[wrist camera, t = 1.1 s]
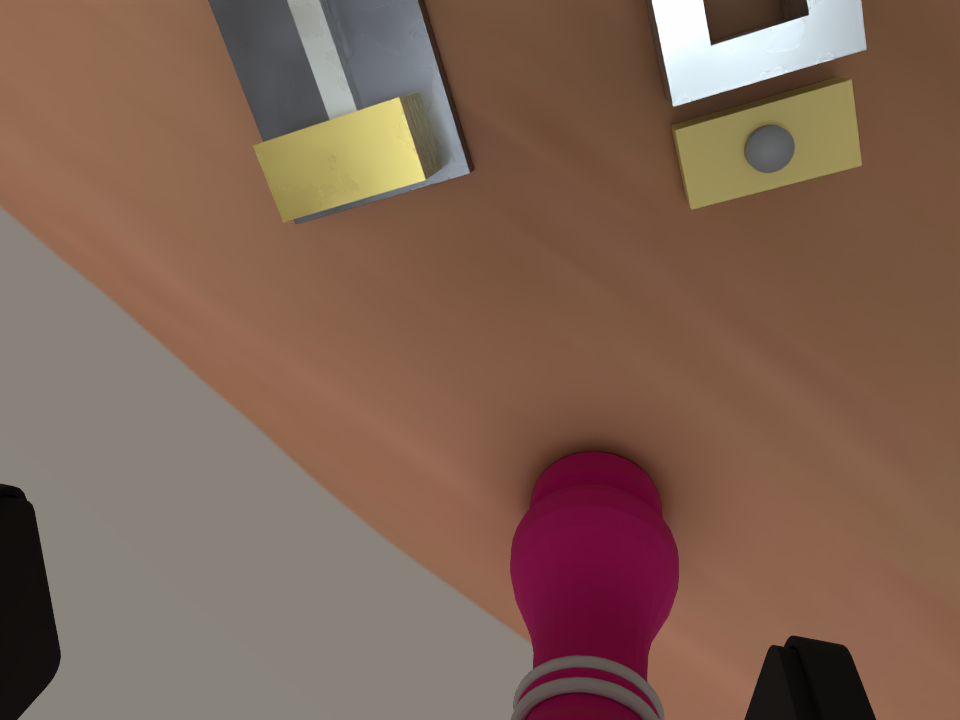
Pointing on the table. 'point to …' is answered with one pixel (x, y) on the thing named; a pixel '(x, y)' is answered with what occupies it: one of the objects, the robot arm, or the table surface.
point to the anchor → (768, 143)
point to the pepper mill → (592, 590)
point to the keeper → (343, 100)
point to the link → (748, 45)
